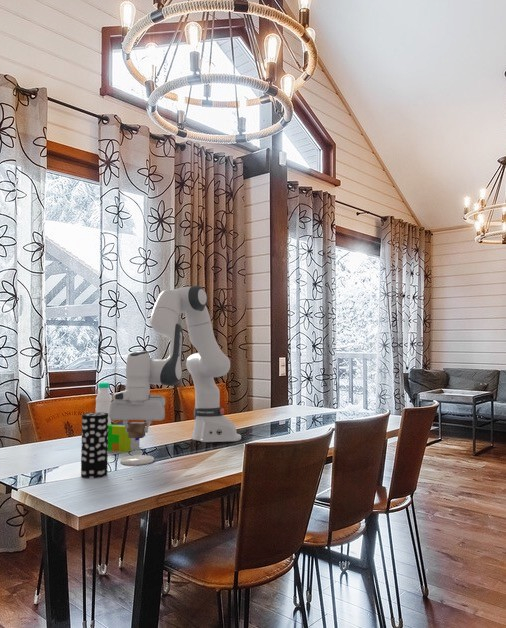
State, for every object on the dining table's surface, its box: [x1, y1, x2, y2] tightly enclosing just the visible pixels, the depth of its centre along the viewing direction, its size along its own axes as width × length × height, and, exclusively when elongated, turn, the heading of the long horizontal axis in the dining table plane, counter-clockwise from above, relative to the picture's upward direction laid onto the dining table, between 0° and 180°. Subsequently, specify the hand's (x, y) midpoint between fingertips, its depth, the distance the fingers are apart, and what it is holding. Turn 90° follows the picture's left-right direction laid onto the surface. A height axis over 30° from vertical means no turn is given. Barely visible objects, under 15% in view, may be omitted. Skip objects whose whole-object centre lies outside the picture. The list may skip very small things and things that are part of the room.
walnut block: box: [128, 421, 147, 439], centre depth 191 cm, size 5×5×5 cm
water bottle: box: [95, 382, 113, 425], centre depth 239 cm, size 7×7×25 cm
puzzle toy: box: [108, 421, 141, 453], centre depth 214 cm, size 10×10×10 cm
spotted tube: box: [80, 412, 109, 480], centre depth 172 cm, size 8×8×20 cm
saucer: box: [119, 454, 155, 466], centre depth 191 cm, size 12×12×1 cm
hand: (136, 432), depth 191 cm, fingers closed on walnut block, 5 cm apart
